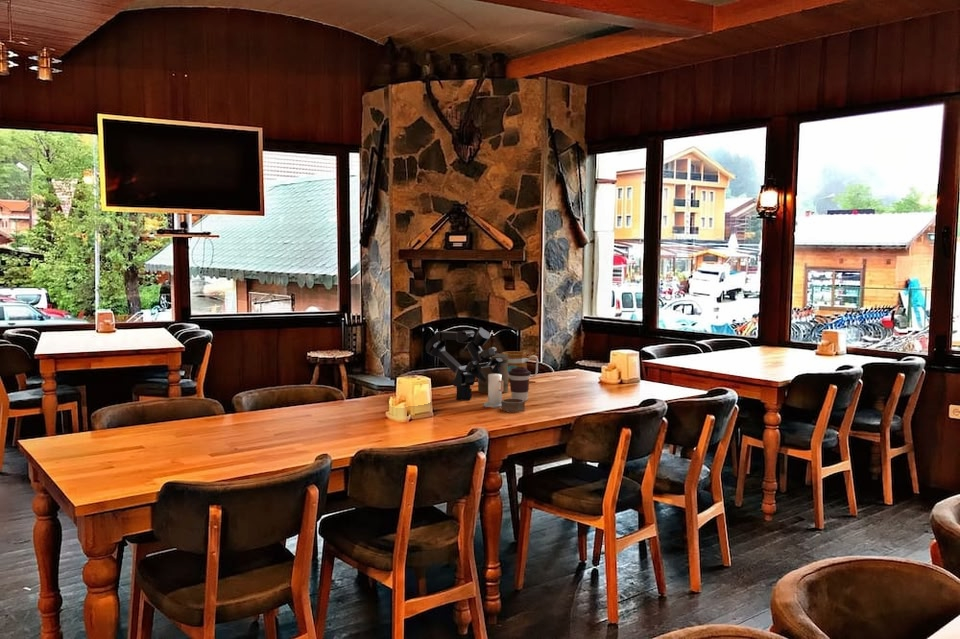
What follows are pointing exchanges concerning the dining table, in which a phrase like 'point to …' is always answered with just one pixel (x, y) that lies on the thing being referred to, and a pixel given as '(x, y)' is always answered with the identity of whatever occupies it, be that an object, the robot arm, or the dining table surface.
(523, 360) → the mug
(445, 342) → the robot arm
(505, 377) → the wooden container
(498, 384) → the jug
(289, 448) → the dining table surface
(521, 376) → the coffee cup
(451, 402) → the dining table surface
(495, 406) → the plate
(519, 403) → the holder
